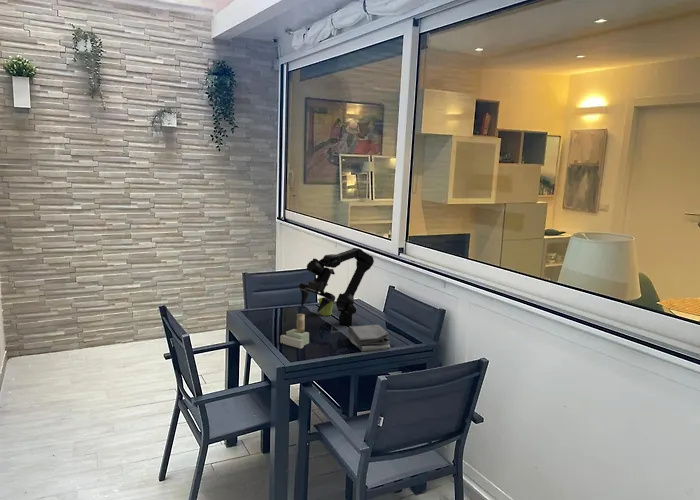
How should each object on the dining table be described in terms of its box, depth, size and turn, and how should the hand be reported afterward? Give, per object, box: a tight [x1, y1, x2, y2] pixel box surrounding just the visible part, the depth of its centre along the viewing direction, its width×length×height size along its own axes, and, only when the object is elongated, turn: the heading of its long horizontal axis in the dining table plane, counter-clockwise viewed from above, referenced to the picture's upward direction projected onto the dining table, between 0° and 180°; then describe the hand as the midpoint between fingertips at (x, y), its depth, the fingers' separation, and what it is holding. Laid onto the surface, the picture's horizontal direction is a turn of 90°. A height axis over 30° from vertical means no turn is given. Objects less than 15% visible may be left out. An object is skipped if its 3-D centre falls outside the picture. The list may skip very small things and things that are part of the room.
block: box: [285, 328, 310, 346], centre depth 230 cm, size 6×9×5 cm, turn 55°
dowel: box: [296, 313, 306, 333], centre depth 231 cm, size 4×4×13 cm
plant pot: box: [317, 297, 335, 317], centre depth 277 cm, size 9×9×9 cm
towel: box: [347, 324, 391, 352], centre depth 231 cm, size 15×18×8 cm
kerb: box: [279, 334, 305, 350], centre depth 227 cm, size 2×12×4 cm, turn 55°
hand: (309, 308), depth 243 cm, fingers open, 9 cm apart
